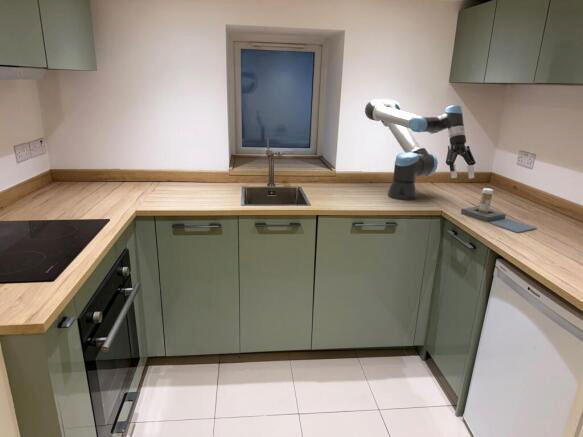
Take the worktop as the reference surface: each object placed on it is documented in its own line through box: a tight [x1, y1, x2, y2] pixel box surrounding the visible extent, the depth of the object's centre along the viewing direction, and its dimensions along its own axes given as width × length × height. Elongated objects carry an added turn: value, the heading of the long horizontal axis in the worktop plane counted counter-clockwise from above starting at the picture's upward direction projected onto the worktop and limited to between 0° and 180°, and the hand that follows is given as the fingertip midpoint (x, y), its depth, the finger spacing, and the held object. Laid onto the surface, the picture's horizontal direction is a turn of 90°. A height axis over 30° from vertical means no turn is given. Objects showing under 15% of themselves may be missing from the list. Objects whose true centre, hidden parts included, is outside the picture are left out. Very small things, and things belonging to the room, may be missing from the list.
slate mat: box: [487, 218, 537, 234], centre depth 184 cm, size 14×14×1 cm
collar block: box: [460, 205, 507, 223], centre depth 196 cm, size 14×14×2 cm
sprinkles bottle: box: [479, 187, 494, 214], centre depth 194 cm, size 5×5×14 cm
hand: (463, 178), depth 203 cm, fingers open, 13 cm apart
